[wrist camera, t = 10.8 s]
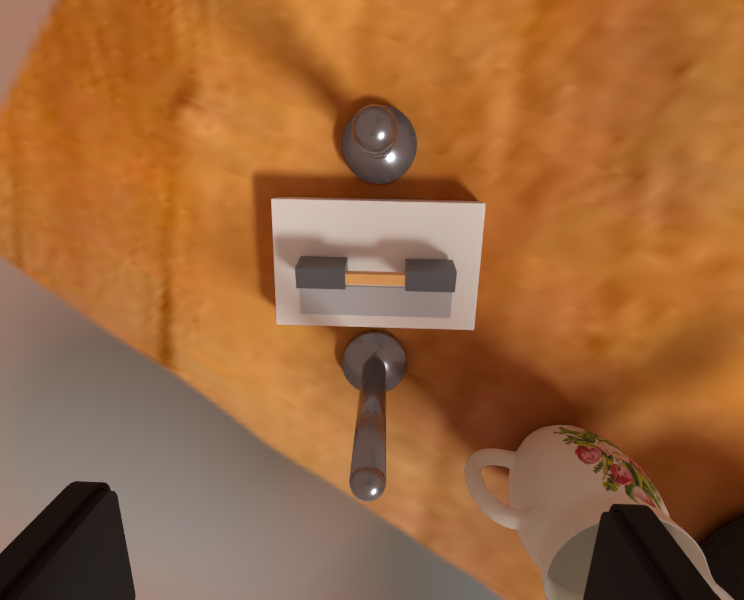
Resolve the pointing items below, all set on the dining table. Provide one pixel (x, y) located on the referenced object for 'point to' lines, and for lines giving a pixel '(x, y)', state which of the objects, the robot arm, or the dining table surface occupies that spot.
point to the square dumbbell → (375, 274)
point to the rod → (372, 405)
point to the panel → (377, 259)
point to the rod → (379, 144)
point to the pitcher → (569, 502)
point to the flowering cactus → (727, 557)
